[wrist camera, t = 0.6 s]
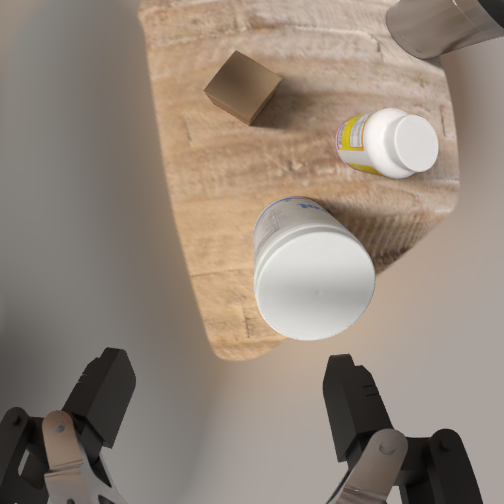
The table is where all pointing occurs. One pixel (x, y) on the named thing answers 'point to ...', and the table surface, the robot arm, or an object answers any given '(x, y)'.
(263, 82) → the walnut block
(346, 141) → the supplement bottle
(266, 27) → the table surface
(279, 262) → the supplement tub
